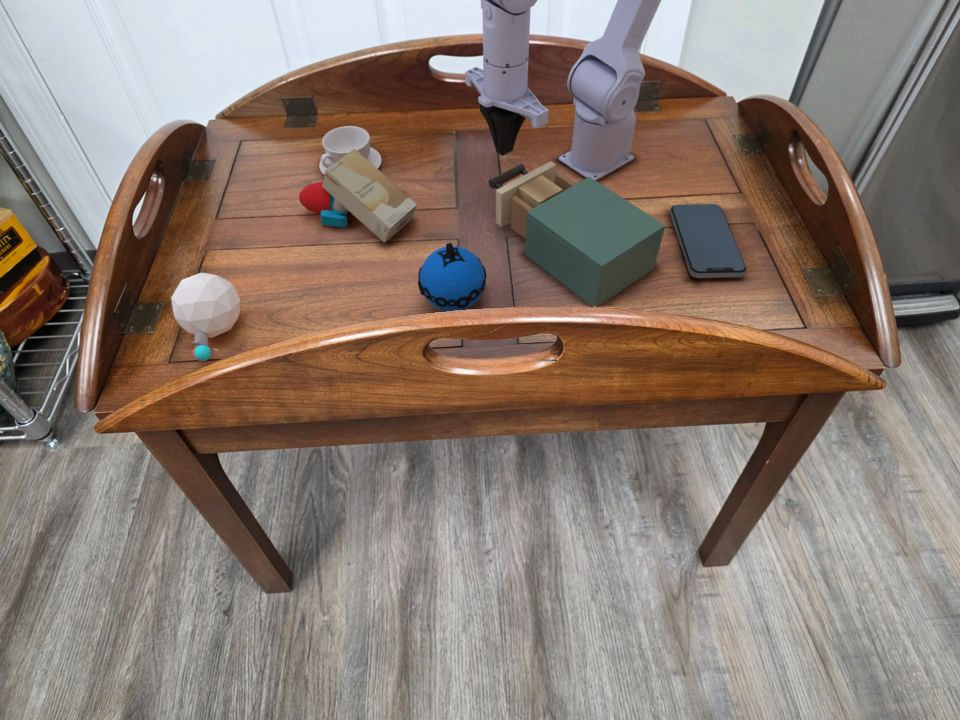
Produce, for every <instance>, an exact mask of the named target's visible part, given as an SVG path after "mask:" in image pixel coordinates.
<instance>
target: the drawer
mask: <svg viewBox="0 0 960 720" xmlns="http://www.w3.org/2000/svg"><path fill="white" fill-rule="evenodd" d="M520 175H522V176H520ZM541 175H542V176H544V177H545V178H547V179H548V180H550V181H551V182H553V183H554V184H556V185H557V186H559V187H560V188H562V189H563V191H565V190H567V189H568V188H570V187H572V186H574V185H575V184H577V182H576V181H574V180H572V179H571V178H569V177H568V176H566V175H564V174H563V173H561V172H560V171H559V172H557V163H555V162H553V161H552V160H550V161H548V162H546V163H544V164H543V165H541V166H539V167H537V168H534V169H533V170H531V171H528V170H527V169H526V167H525V164H523V163H519V164H517V165H515V166H513V167H511V168H510V169H507V170H506V171H503V172H501V173H499V174H498V175H495V176H494V177H492V178H490V179H488V181H487V182H488V183H487V184H488V186H489V187H490V189H492V190H494V189H496V190H495V224H497V225H498V226H499V227H500V228H503V227H504V226H506V225H508V224H509V223H510V229H512V230H513V231H514V232H515V233H517V234H518V235H519V236H521V237H522V238H523V239H525V240H526V221H527V211H529V210H531V209H533V208H532V207H531V206H529V205H528V204H527V203H525V202H524V201H523V200H521V199H520V198H518V187H520V186H522V185H524V184H526V183H528V182H529V181H531V180H533V179H535V178H537V177H539V176H541ZM519 176H520V177H519ZM515 178H516V179H515ZM513 179H514V180H513ZM511 180H512V181H511ZM509 181H510V182H509ZM506 183H507V184H506ZM504 184H505V185H504Z"/></svg>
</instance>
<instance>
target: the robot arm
mask: <svg viewBox="0 0 960 720" xmlns="http://www.w3.org/2000/svg"><path fill="white" fill-rule="evenodd" d="M537 2H538V0H480V9H481V10H482V57H483V58H482V63H483V64H482V65H483V67H482V68H483V69H482V68H480V67H478V66H474V67H472V68H470V69H468V70H465V72H464V73H465V85H466V86H467V87H470V88H473V87H475V89H476V90H477V92H478V93H479V94H480V95H479V96H478V98H477V100H478V104H480V105H479V111H480V113H481V114H482V116H483V119H484V120H485V121H486V124H487V126H488V128H489V131H490V135H491V137H492V141H493V142H492V143H493V145H494V149H495V152H496V153H497V154H499V156H502V157H504V156H505V155H507V154H510V153H511V152H513V150H514V147H515V144H516V141H517V138H518V135H519V133H520V130H521V128H522V126H523V124H524V123H525V121H526V120H528V121H530V122H531V126H532V127H533V128H534V129H539V128H542V127H544V126H545V125H547V124H549V109H548V108H547V107H545V106H544V105H543V104H542V103H541V102H540V101H539V99H538V98H537V96H536V95H535V94H534V93H533V91H532V90H531V89H530V87H529V86H528V82H529V81H528V79H529V59H530V57H529V55H530V32H531V10H532V9H531V8H532V7H534V6H535V5H536V3H537ZM661 2H662V0H617V1H616V3H615V6H614V8H613V11H612V13H611V15H610V18H609V20H608V23H607V25H606V28H605V30H604V32H603V34H602V36H601V37H600V38H596V39H595V40H592V41H590V42H588V43H586V44H585V46H584V49H583V51H582V53H581V55H580V56H579V58H578V59H577V61H576V62H575V63H574V64H573V66H572V67H571V69H570V71H569V73H568V76H567V81H566V87H567V91H568V93H569V94H570V95H571V96H573V106H574V107H575V111H574V121H573V130H572V139H571V140H572V141H571V148H570V149H571V150H569V151H567V152H566V153H564V154H562V155H560V156H558V161H559V162H561V163H563V164H564V165H565V166H567V167H568V168H570V169H571V170H573V171H575V172H576V173H578V174H579V175H581V176H582V177H584V178H585V179H586V178H588V177H591V178H592V179H594V180H596V181H599V180H601V179H602V178H604V177H605V176H607V175H609V174H611V173H612V172H614V171H616V170H617V169H620V168H621V167H624V166H625V165H627V164H628V163H630V162H632V161H634V159H635V156H634V155H633V154H631V151H632V146H633V141H634V134H635V130H636V125H637V117H636V116H637V115H636V112H635V110H634V109H635V108H636V106H637V103H638V100H639V97H640V89H641V86H642V83H643V81H644V78H645V76H646V71H645V67H644V65H643V62H642V59H641V56H640V52H639V51H640V48H641V47H642V44H643V42H644V40H645V37H646V35H647V33H648V31H649V28H650V26H651V25H652V22H653V20H654V18H655V15H656V13H657V11H658V8H659V7H660V5H661Z"/></svg>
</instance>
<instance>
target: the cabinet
mask: <svg viewBox="0 0 960 720" xmlns="http://www.w3.org/2000/svg"><path fill="white" fill-rule="evenodd" d="M576 183H577V182H576ZM665 228H666V225H665V224H664V223H662V222H661V221H659V220H658V219H656V218H654V217H653V216H652V215H650V214H649V213H647V212H646V211H644V210H643V209H641V208H640V207H638V206H636V205H634V203H631V202H630V201H628V200H626V199H625V198H624V197H622V196H620V195H619V194H617V193H616V192H614V191H613V190H611V189H609V188H608V187H607V186H605V185H603V184H602V183H600V182H599V181H598V180H594V179H592V178H591V177H588V178H586V177H585V179H583V180H581V181H579V182H578V183H577V184H575V185H574V186H572V187H570V188H568V189H567V190H565V191H563V192H561V193H559V194H558V195H556V196H554V197H552V198H550V199H549V200H547V201H545V202H543V203H542V204H540V205H538V206H536V207H534V208H533V209H531V210H529V211H527V221H526V239H525V245H524V256H526V257H527V258H529V259H530V260H531V261H532V262H534V263H535V264H536V265H538V266H539V267H540V268H541V269H542V270H544V271H545V272H547V274H549V275H550V276H552V277H553V278H554V279H556V280H557V281H558V282H559V283H560V284H562V285H563V286H564V287H566V288H567V289H569V290H570V291H571V292H572V293H573V294H575V295H576V296H577V297H579V298H580V299H581V300H583V301H584V302H585V303H586V304H588V305H589V306H590V307H591V306H598V307H600V306H601V305H603V303H605V302H607V301H609V300H610V299H612V298H613V297H614V296H616V295H617V294H619V293H620V292H622V291H623V290H625V289H627V287H629V286H631V285H632V284H634V283H636V282H637V281H638V280H640V279H641V278H643V277H644V276H646V275H647V274H648V273H650V272H652V271H653V270H654V269H655V266H656V263H657V260H658V256H659V253H660V248H661V245H662V241H663V237H664V232H665Z"/></svg>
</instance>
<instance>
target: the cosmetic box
mask: <svg viewBox="0 0 960 720" xmlns="http://www.w3.org/2000/svg"><path fill="white" fill-rule="evenodd" d="M322 182H323V185H322V187H323V188H324V189H325V190H326V191H327V192H328V193H329V194H331V195H332V196H333V197H334V198H335V199H336V200H337V201H338V202H340V203H341V204H342V205H343V206H344V207H345V208H346V209H347V210H348V211H349V213H350V214H352V216H354V217H355V218H356V219H357V220H358V221H359V222H360V223H362V224H363V225H364V226H365V228H367V229H368V230H369V231H370V232H372V233H373V234H374V235H375V236H376V237H377V238H378V239H380V240H381V242H383V243H385V244H386V243H387V242H388V241H389V240H390V239H392V237H393V236H395V235H396V234H397V233H398V232H399V231H400V230H402V229H403V228H404V227H405V226H406V225H407V224H409V222H411V220H412V218H413V216H414V213H415V212H416V209H417V207H418V203H416V202H415V201H414V199H412V198H411V197H410V196H409V195H408V194H406V193H405V192H404V191H403V190H402V189H401V188H399V187H398V185H396V184H395V183H394V182H393V181H392V180H391V179H390V178H388V177H387V175H385V174H384V172H382V171H381V170H379V168H378V169H377V168H376V167H375V166H374V165H373V164H371V163H370V162H369V161H368V160H367V159H366V158H365V157H364V156H363V155H361V154H360V153H359V152H358V151H357V150H356V149H355V148H354V149H353V150H352V151H350V152H349V153H347V154H346V155H345V156H343V157H342V158H341V159H339V160H338V161H337V162H335V163H334V164H333V165H331V166H330V167H329V168H327V169H326V172H325V175H324V176H323V181H322Z"/></svg>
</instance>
